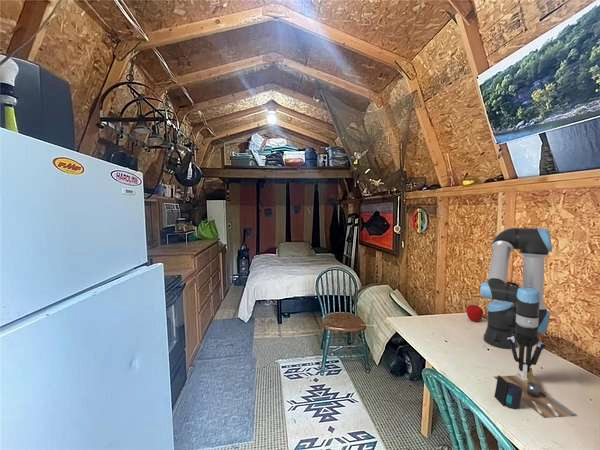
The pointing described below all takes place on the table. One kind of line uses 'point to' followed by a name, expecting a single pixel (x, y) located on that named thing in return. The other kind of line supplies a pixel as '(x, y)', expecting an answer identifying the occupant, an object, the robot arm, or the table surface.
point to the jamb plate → (539, 400)
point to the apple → (474, 313)
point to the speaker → (508, 393)
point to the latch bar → (532, 385)
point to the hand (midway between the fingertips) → (523, 378)
